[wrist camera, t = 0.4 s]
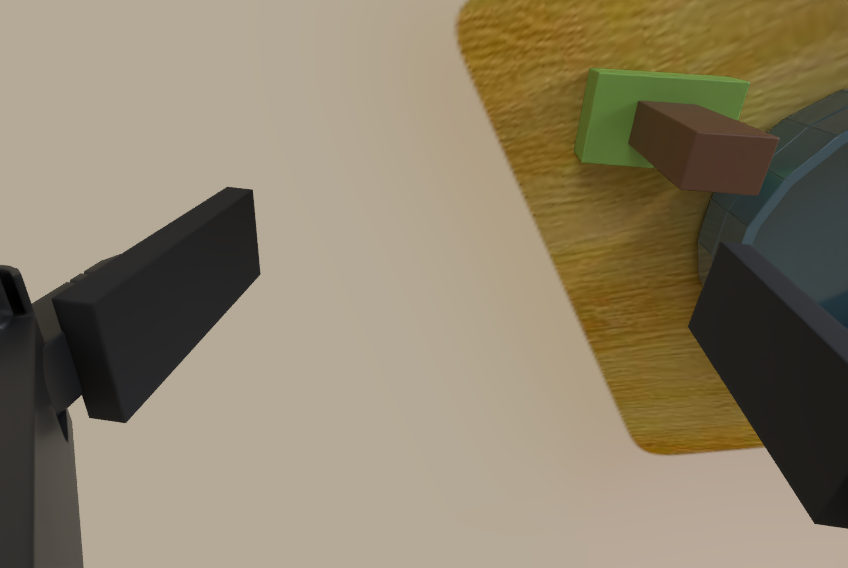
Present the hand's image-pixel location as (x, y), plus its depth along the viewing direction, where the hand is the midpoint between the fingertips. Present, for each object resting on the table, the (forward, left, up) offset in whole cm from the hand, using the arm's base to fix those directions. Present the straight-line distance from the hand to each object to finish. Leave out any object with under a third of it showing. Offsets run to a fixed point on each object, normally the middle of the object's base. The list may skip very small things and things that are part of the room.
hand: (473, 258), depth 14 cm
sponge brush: (-1, +10, -20) cm, 23 cm away
